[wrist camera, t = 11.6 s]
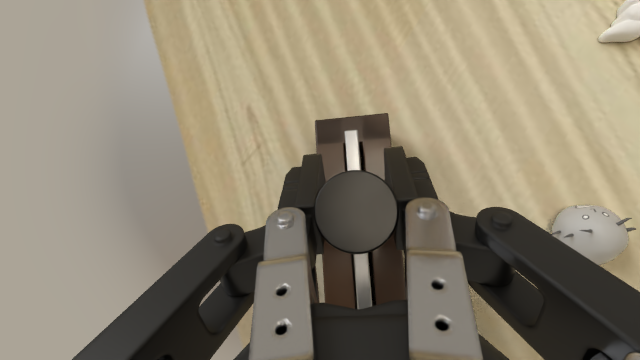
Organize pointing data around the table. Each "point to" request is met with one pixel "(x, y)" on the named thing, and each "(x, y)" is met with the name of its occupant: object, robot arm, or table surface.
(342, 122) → the knife holder
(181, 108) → the table surface
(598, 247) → the grey rounded lump
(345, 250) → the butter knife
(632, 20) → the acanthus leaf ornament
